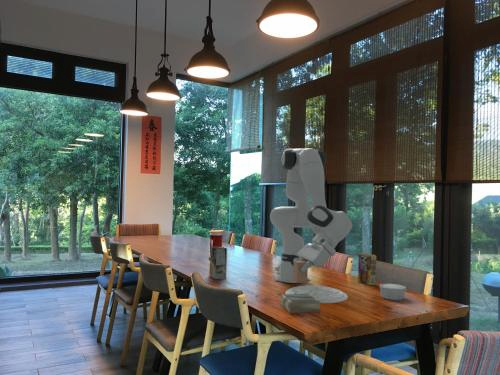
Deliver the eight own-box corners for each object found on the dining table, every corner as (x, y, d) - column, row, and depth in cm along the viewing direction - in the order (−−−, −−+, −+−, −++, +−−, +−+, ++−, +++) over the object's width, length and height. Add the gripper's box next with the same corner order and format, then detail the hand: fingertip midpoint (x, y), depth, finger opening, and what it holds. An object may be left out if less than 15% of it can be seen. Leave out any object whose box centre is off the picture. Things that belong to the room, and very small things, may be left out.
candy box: (376, 284, 204) (376, 255, 204) (370, 285, 202) (370, 255, 202) (363, 281, 212) (364, 252, 212) (357, 282, 210) (358, 253, 210)
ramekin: (377, 294, 185) (377, 282, 185) (401, 295, 184) (402, 283, 184) (382, 300, 174) (382, 288, 174) (408, 301, 173) (409, 289, 173)
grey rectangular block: (293, 280, 160) (293, 260, 160) (303, 280, 161) (303, 260, 161) (296, 282, 156) (297, 262, 156) (307, 282, 157) (307, 262, 157)
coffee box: (226, 278, 210) (227, 248, 210) (215, 279, 207) (216, 248, 207) (219, 275, 218) (220, 246, 218) (209, 276, 215) (209, 246, 215)
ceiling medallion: (300, 306, 163) (300, 298, 163) (276, 289, 190) (276, 283, 190) (360, 302, 171) (360, 295, 171) (329, 287, 198) (329, 281, 198)
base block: (280, 304, 163) (280, 293, 163) (308, 303, 166) (308, 292, 166) (290, 312, 151) (290, 301, 151) (319, 311, 154) (319, 300, 154)
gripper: (307, 236, 171) (285, 259, 168) (327, 242, 151) (302, 268, 148) (317, 246, 172) (295, 270, 169) (338, 253, 152) (313, 280, 149)
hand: (298, 269), depth 159 cm, fingers closed on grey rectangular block, 4 cm apart
